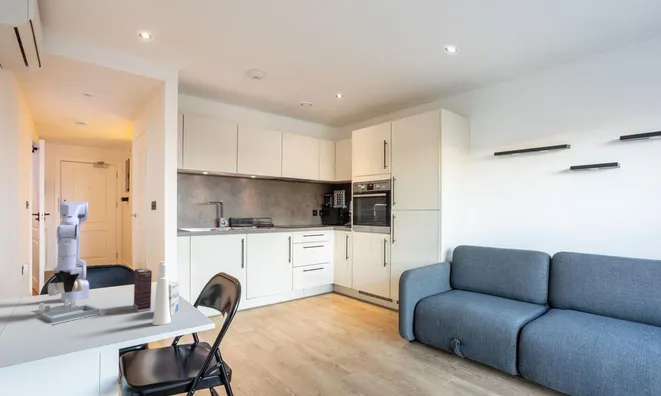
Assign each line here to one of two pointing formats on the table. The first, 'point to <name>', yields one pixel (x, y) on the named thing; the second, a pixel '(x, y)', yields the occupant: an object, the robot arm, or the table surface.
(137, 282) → the supplement box
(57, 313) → the tray
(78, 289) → the fuse
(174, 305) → the ink box
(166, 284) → the cosmetic bottle
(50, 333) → the table surface
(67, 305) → the fuse holder
